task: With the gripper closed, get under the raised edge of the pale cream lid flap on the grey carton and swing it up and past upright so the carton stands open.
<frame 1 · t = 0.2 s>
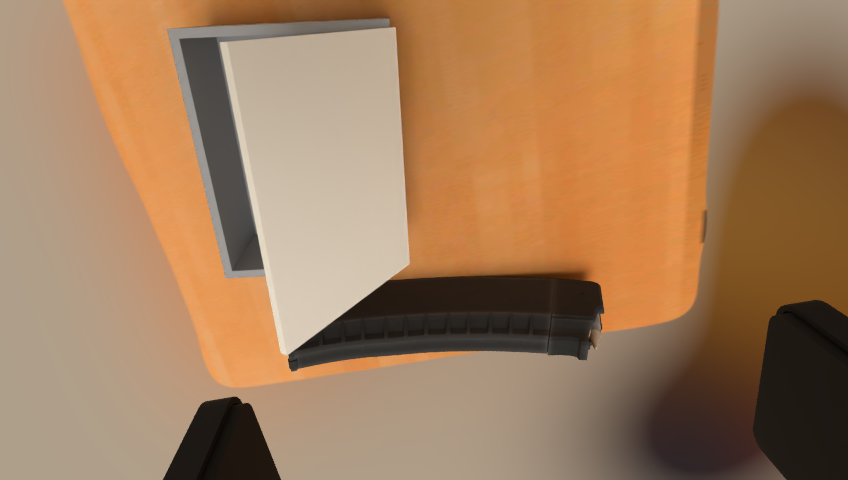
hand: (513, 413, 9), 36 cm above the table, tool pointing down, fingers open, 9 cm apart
carton: (315, 136, 43), on the table
magazine: (436, 289, 50), on the table
carton flap: (340, 183, 31), point 14 cm above the table, hinge at 55.0°
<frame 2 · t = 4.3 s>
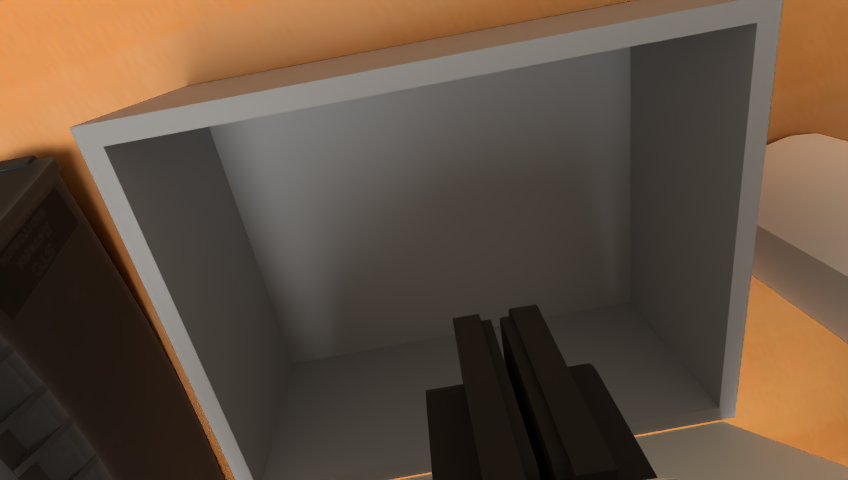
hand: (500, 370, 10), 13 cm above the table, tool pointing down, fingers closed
spray bottle: (778, 201, 24), on the table
carton: (438, 207, 23), on the table
magazine: (175, 424, 27), on the table
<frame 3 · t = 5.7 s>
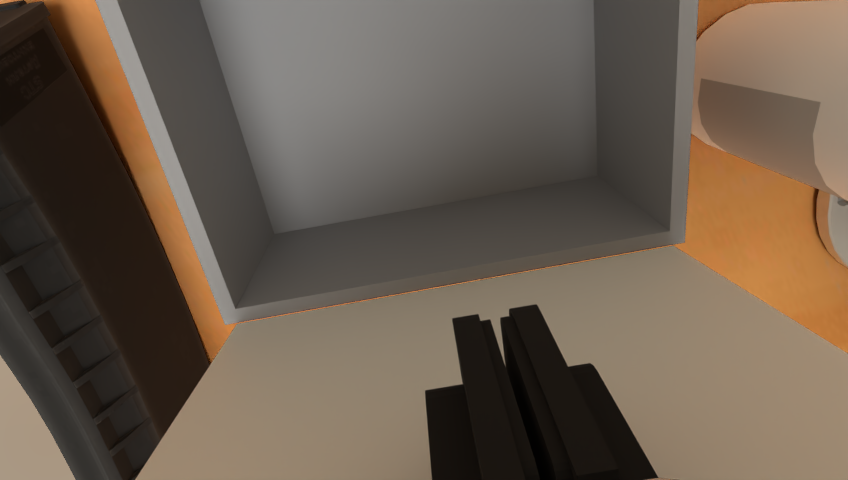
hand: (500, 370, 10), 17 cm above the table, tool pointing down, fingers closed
spray bottle: (738, 77, 25), on the table
carton: (412, 74, 24), on the table
magazine: (161, 302, 28), on the table
carton flap: (481, 392, 13), point 15 cm above the table, hinge at 83.9°, touching gripper
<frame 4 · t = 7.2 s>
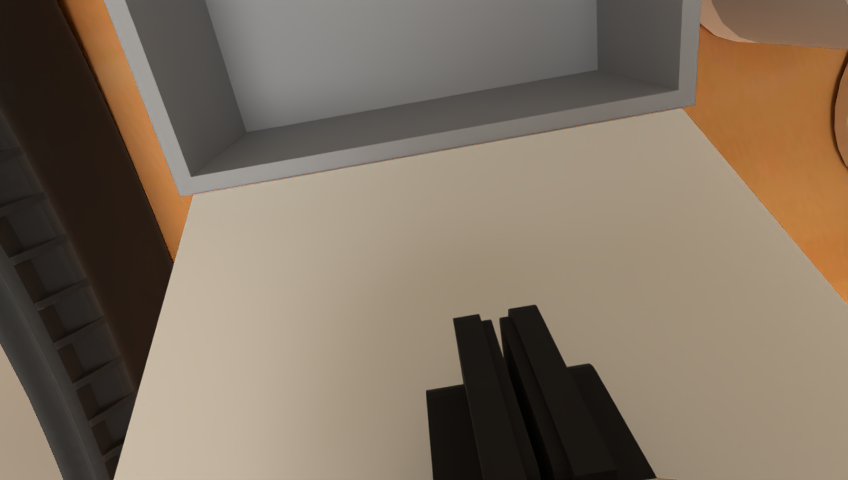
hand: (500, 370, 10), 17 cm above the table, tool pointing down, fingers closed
magazine: (127, 214, 26), on the table
carton flap: (472, 313, 13), point 14 cm above the table, hinge at 113.6°, touching gripper
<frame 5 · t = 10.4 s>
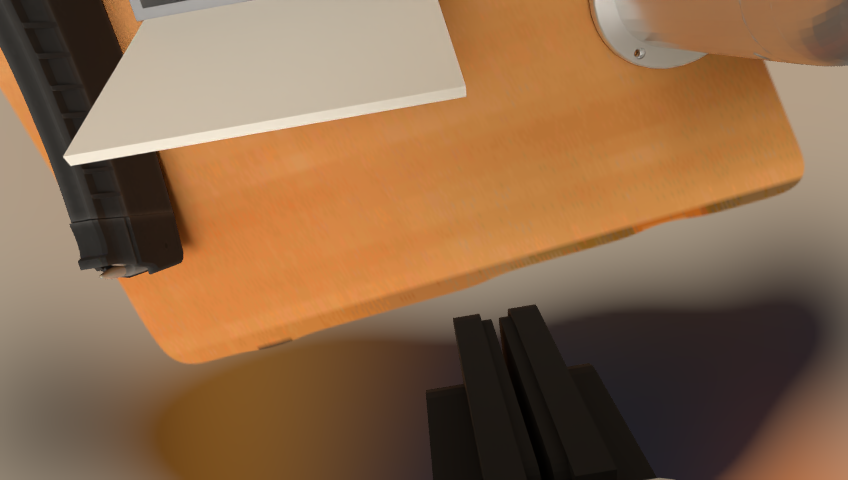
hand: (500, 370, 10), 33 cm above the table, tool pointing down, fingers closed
magazine: (110, 70, 38), on the table
carton flap: (277, 51, 25), point 14 cm above the table, hinge at 113.6°
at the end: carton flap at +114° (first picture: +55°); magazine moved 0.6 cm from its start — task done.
